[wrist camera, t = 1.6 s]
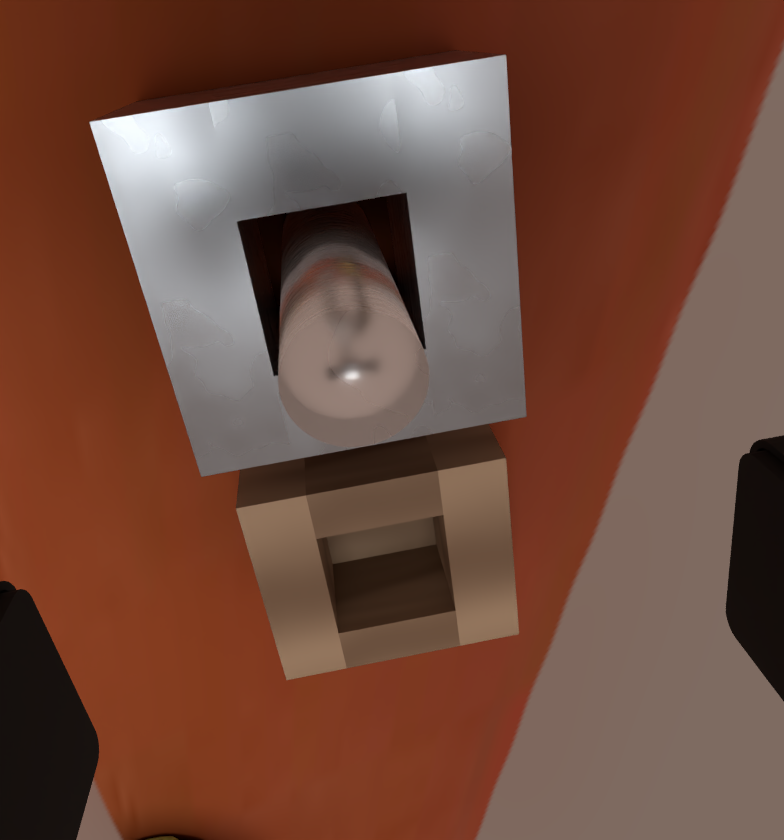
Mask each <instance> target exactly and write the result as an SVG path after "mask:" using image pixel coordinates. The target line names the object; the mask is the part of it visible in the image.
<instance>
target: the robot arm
mask: <svg viewBox="0 0 784 840" xmlns="http://www.w3.org/2000/svg"><path fill="white" fill-rule="evenodd" d="M726 616H727V620H728V623H729V626H730V629H731V631H732V633H733V634H734V636H735V638H736V639H737V640H738V641H739V643H740V644H741V646H742V647H743V648H744V649H745V651H746V652H747V653H748V655H749V656H750V657H751V659H752V660H753V661H754V663H755V664H756V665H757V667H758V668H759V669H760V671H761V672H762V673H763V675H764V676H765V677H766V679H767V680H768V681H769V683H770V684H771V685H772V686H773V688H774V689H775V690H776V692H777V693H778V694H779V695H780V697H781V698H782V700H783V701H784V436H779V437H773V438H768V439H762V440H758V441H756V442H755V443H754V444H753V445H752V447H751V449H750V453H747V454H745V455H743V456H742V458H741V459H740V463H739V470H738V481H737V492H736V503H735V514H734V525H733V535H732V546H731V557H730V568H729V579H728V590H727V601H726ZM98 758H99V743H98V737H97V734H96V731H95V729H94V727H93V725H92V722H91V720H90V718H89V716H88V714H87V712H86V710H85V708H84V706H83V704H82V702H81V699H80V697H79V695H78V693H77V691H76V689H75V687H74V685H73V683H72V681H71V678H70V676H69V674H68V672H67V670H66V668H65V666H64V664H63V662H62V660H61V658H60V655H59V653H58V651H57V649H56V647H55V645H54V643H53V641H52V639H51V637H50V634H49V632H48V630H47V628H46V626H45V624H44V622H43V620H42V618H41V616H40V614H39V611H38V609H37V607H36V605H35V603H34V601H33V599H32V597H31V596H30V594H29V593H28V592H27V591H26V590H23V589H20V590H16V589H15V587H14V586H13V585H12V584H11V583H9V582H6V581H0V840H76V838H77V835H78V831H79V828H80V823H81V820H82V817H83V813H84V810H85V806H86V803H87V799H88V795H89V792H90V788H91V785H92V781H93V777H94V774H95V770H96V767H97V763H98Z"/></svg>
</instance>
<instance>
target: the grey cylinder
mask: <svg viewBox="0 0 784 840" xmlns="http://www.w3.org/2000/svg"><path fill="white" fill-rule="evenodd" d="M428 386H429V366H428V361H427V357H426V354H425V352H424V349H423V347H422V344H421V342H420V340H419V338H418V335H417V333H416V331H415V328H414V326H413V324H412V321H411V319H410V317H409V314H408V312H407V310H406V307H405V305H404V303H403V300H402V298H401V296H400V293H399V291H398V289H397V286H396V284H395V282H394V280H393V277H392V275H391V273H390V270H389V268H388V266H387V263H386V261H385V259H384V256H383V254H382V252H381V249H380V247H379V245H378V242H377V240H376V238H375V235H374V233H373V231H372V229H371V226H370V224H369V222H368V219H367V217H366V215H365V213H364V211H363V210H362V208H361V207H360V206H359V205H358V204H357V203H356V202H355V201H353V202H348V203H342V204H336V205H330V206H324V207H318V208H312V209H306V210H300V211H294V212H288V213H287V215H286V217H285V220H284V224H283V230H282V260H281V294H280V329H279V363H278V388H279V394H280V398H281V401H282V404H283V406H284V408H285V410H286V412H287V413H288V415H289V416H290V418H291V419H292V421H293V422H294V423H295V424H296V425H297V426H298V427H299V428H300V429H301V430H303V431H304V432H305V433H307V434H308V435H310V436H311V437H313V438H315V439H317V440H319V441H321V442H324V443H327V444H330V445H335V446H341V447H362V446H368V445H372V444H376V443H379V442H381V441H384V440H386V439H388V438H390V437H392V436H394V435H395V434H397V433H398V432H400V431H401V430H402V429H404V428H405V427H406V426H407V425H408V424H409V423H410V422H411V421H412V420H413V419H414V417H415V416H416V415H417V413H418V412H419V410H420V408H421V407H422V405H423V403H424V400H425V398H426V395H427V391H428Z"/></svg>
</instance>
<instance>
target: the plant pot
mask: <svg viewBox="0 0 784 840" xmlns="http://www.w3.org/2000/svg"><path fill="white" fill-rule="evenodd" d="M147 840H178V839H177V838H175V837H173V836H164V837H156V838H151V839H147Z"/></svg>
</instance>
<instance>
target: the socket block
mask: <svg viewBox="0 0 784 840" xmlns="http://www.w3.org/2000/svg"><path fill="white" fill-rule="evenodd" d="M90 125H91V129H92V132H93V135H94V138H95V141H96V144H97V148H98V151H99V154H100V157H101V160H102V163H103V167H104V170H105V173H106V176H107V179H108V182H109V186H110V189H111V192H112V195H113V198H114V201H115V205H116V208H117V211H118V214H119V217H120V221H121V224H122V227H123V230H124V233H125V236H126V240H127V243H128V246H129V249H130V252H131V255H132V259H133V262H134V265H135V268H136V271H137V274H138V278H139V281H140V284H141V287H142V290H143V293H144V297H145V300H146V303H147V306H148V309H149V312H150V316H151V319H152V322H153V325H154V328H155V331H156V335H157V338H158V341H159V344H160V347H161V350H162V354H163V357H164V360H165V363H166V366H167V369H168V373H169V376H170V379H171V382H172V385H173V388H174V392H175V395H176V398H177V401H178V404H179V407H180V411H181V414H182V417H183V420H184V423H185V426H186V430H187V433H188V436H189V439H190V442H191V445H192V449H193V452H194V455H195V458H196V461H197V464H198V468H199V471H200V474H201V477H202V476H208V475H213V474H219V473H224V472H229V471H235V470H240V469H246V468H251V467H257V466H262V465H267V464H273V463H278V462H284V461H289V460H294V459H300V458H305V457H311V456H316V455H321V454H327V453H332V452H338V451H343V450H349V449H354V448H359V447H341V446H335V445H330V444H327V443H324V442H321V441H319V440H317V439H315V438H313V437H311V436H310V435H308V434H307V433H305V432H304V431H303V430H301V429H300V428H299V427H298V426H297V425H296V424H295V423H294V422H293V421H292V419H291V418H290V416H289V415H288V413H287V412H286V410H285V408H284V406H283V404H282V401H281V398H280V394H279V388H278V363H279V329H280V307H277V306H276V302H275V298H274V293H273V289H272V284H271V280H270V275H269V271H268V267H267V262H266V258H265V253H264V249H263V244H262V240H261V236H260V231H259V227H258V222H257V218H259V217H265V216H271V215H277V214H282V213H288V212H294V211H300V210H306V209H312V208H318V207H324V206H330V205H336V204H342V203H348V202H353V201H359V200H365V199H371V198H377V197H383V196H386V201H387V208H388V216H389V223H390V230H391V237H392V244H393V251H394V259H395V266H396V273H397V280H398V286H397V289H398V291H399V293H400V296H401V298H402V300H403V303H404V305H405V307H406V310H407V312H408V314H409V317H410V319H411V321H412V324H413V326H414V328H415V331H416V333H417V335H418V338H419V340H420V342H421V344H422V347H423V349H424V352H425V354H426V357H427V361H428V366H429V386H428V391H427V395H426V398H425V400H424V403H423V405H422V407H421V408H420V410H419V412H418V413H417V415H416V416H415V417H414V419H413V420H412V421H411V422H410V423H409V424H408V425H407V426H406V427H405V428H404V429H402V430H401V431H400V432H398V433H397V434H395V435H394V436H392V437H390V438H388V439H386V440H384V441H381V442H379V443H376V444H381V443H386V442H392V441H397V440H403V439H408V438H414V437H419V436H424V435H430V434H435V433H441V432H446V431H451V430H457V429H462V428H468V427H473V426H478V425H484V424H489V423H495V422H500V421H506V420H511V419H516V418H522V417H526V401H525V383H524V365H523V347H522V329H521V312H520V294H519V276H518V258H517V240H516V223H515V205H514V187H513V169H512V152H511V134H510V116H509V98H508V80H507V63H506V55H504V54H492V53H481V52H470V51H459V50H454V51H448V52H441V53H435V54H429V55H423V56H417V57H410V58H404V59H398V60H392V61H385V62H379V63H373V64H367V65H361V66H354V67H348V68H342V69H336V70H329V71H323V72H317V73H311V74H304V75H298V76H292V77H286V78H280V79H273V80H267V81H261V82H255V83H248V84H242V85H236V86H230V87H224V88H217V89H211V90H205V91H199V92H192V93H186V94H180V95H174V96H167V97H161V98H155V99H149V100H143V101H136V102H134V103H132V104H129V105H127V106H125V107H123V108H120V109H118V110H116V111H113V112H111V113H109V114H106V115H104V116H102V117H100V118H97V119H95V120H93V121H90ZM376 444H372V445H376ZM368 446H370V445H368ZM362 447H365V446H362Z"/></svg>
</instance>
